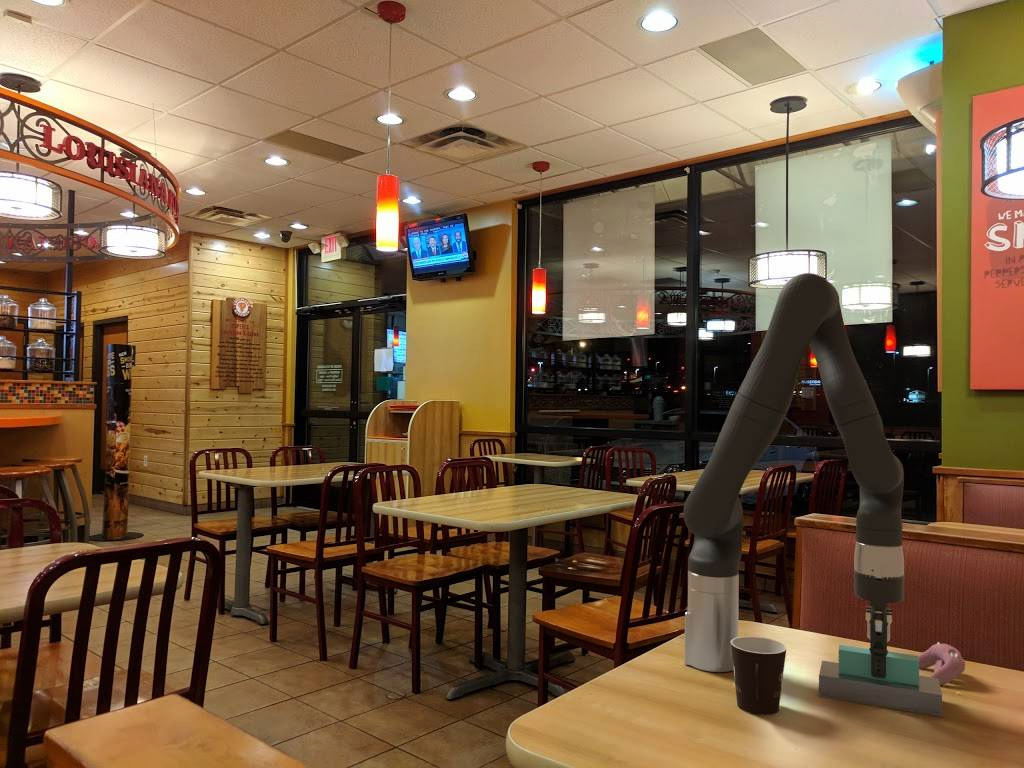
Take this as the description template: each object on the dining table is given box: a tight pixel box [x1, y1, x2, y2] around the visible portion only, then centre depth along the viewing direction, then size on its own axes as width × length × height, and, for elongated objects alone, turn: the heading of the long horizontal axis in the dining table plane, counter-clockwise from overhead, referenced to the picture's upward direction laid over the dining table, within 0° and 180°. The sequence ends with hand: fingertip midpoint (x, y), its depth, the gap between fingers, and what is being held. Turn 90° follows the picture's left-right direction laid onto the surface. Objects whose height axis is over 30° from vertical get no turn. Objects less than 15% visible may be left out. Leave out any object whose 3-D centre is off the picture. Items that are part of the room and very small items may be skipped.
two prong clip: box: [838, 644, 920, 686], centre depth 125 cm, size 12×3×7 cm, turn 64°
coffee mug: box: [731, 635, 787, 716], centre depth 120 cm, size 12×9×10 cm
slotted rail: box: [818, 660, 943, 718], centre depth 125 cm, size 18×8×4 cm, turn 64°
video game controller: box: [917, 641, 966, 686], centre depth 135 cm, size 10×5×7 cm, turn 170°
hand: (878, 671), depth 125 cm, fingers open, 5 cm apart
